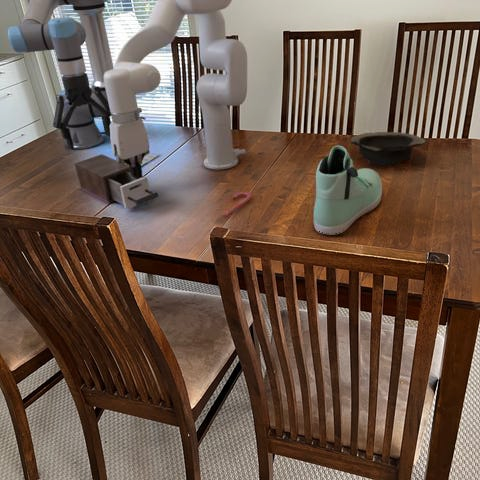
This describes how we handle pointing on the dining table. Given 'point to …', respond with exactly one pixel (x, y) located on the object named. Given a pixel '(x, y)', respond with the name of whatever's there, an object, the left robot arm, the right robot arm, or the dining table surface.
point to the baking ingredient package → (147, 158)
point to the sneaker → (343, 192)
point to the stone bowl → (386, 147)
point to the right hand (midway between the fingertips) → (137, 177)
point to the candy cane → (237, 206)
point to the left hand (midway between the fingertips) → (90, 141)
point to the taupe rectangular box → (98, 175)
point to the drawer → (129, 190)
